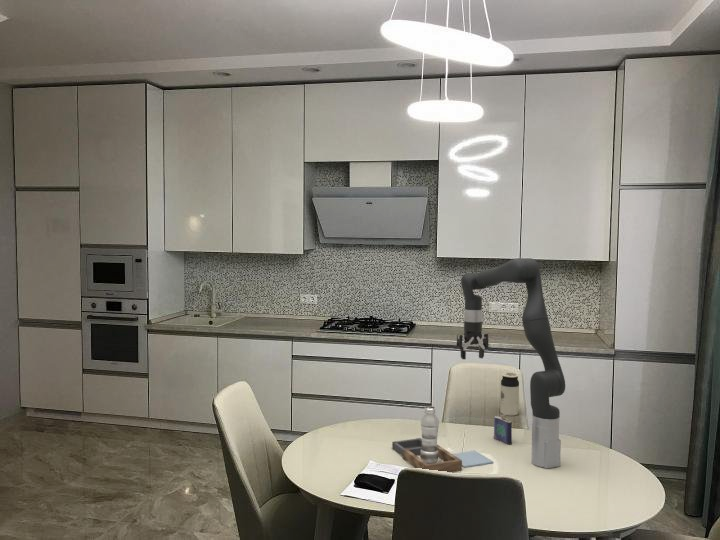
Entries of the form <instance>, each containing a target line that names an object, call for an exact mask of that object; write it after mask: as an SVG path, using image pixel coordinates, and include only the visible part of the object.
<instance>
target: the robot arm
mask: <svg viewBox="0 0 720 540" xmlns="http://www.w3.org/2000/svg"><path fill="white" fill-rule="evenodd" d="M504 282H505V283H516V284H525V286H526V292H527V300H526V303H525V306H524V309H523V313H522V316H521V317H522V318H521V322H522V326H523V332H524V334H525V335H524V336H525V338H526V340H527V341H528V343H529V344H530V345H531V346H532V348H533V349H534V350H535V352H536V353H537V354H538V355H539V357H540V359H541V362H542V364H543V368H544V370H540V371H535V372H533V373H532V375H531V378H530V381H529V386H530V387H529V393H530V406H531V410H532V413H531V414H532V418H531V419H532V420H531V422H532V424H531V425H532V426H531V463H532V464H533V465H534V466H537V467H540V468H544V469H553V468H558V467H560V466H561V455H562V453H561V450H562V449H561V448H562V447H561V446H562V441H561V439H560V415H561V414H560V409H559V408H558V407H557V406H555V405H551V403H550V398H553V397H559V396H562V395H564V393H565V391H566V380H565V376H564V373H563V369H562V366H561V364H560V361H559V357H558V355H557V351H556V347H555V343H554V342H555V341H554V339H553V336H552V335H553V334H552V330H551V329H552V328H551V324H550V320H549V316H548V312H547V307H546V303H545V298H544V291H543V283H542V275H541V269H540V267H539V263H538V261H537V260H536V259H534V258H532V257H531V258H530V257H529V258H528V257H524V258H523V257H522V258H521V257H520V258H513V259H511V260H508V261H506V262H505V263H503V264H501V265H498V266H497V267H492V268H487V269H483V270H481V271H479V272H466V273H464V274H463V275H462V276H461V279H460V286H461V290H462V293H463V297H464V313H463V316H464V317H463V332H464V333H463V334H457V335H456V349H458V350H460V358H461V360H466V358H467V357H466V356H467V351H466V350H467V349H468V347H469V346H470V345H471V346H473V345H477V346H478V348H479V349H478V358H479V359H484V357H485V349H486V348H487V349H488V348H489V345H490V344H489V334H488V333H485V332H484V333H482V331H483V312H482V311H483V310H482V309H483V299H482V296H480V295H477V294H475V293H474V291H475V290H484V289H487V288H490V287H494V286H499V285H500V284H501V283H504Z"/></svg>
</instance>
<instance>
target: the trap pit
mask: <svg viewBox="0 0 720 540" xmlns="http://www.w3.org/2000/svg"><path fill="white" fill-rule="evenodd" d="M391 445H392V446H391V448H392V449H393V450H394V451H395V452H396V453H398V454H399V455H401V456H402V457H403V449H408V450H409V451H411V452H412V453H413V454H415V455H416V456H420V451H421V445H422V437H419V438H418V437H417V438H410V439H405V440H404V439H403V440H396V441H392V444H391Z"/></svg>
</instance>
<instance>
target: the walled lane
mask: <svg viewBox="0 0 720 540" xmlns="http://www.w3.org/2000/svg"><path fill="white" fill-rule="evenodd" d="M437 450H438V455H439V457H438V459H440V460H441V461H439V462H438V461H437V462H436V463H431V464H427V463H426V462H425V461H423V460H422V459H420V456H419V455H415V454H413V453H412V452H411V451H409V450H408V449H403V456H402V459H403V460H404V461H405V462H407V463H408V464H409V465H411V466H412V467H413V468H414V469H416V468H422V469H429V470H438V471H447V472H449V473H454V471H455V472H460V471H462V469H463V467H462V460H461V459H459V458H457V457H456V456H454V455H453V454H454V453H451V452H450V451H448V450H447V449H445V448H443V447H441V445H439V444H437Z"/></svg>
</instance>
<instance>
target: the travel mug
mask: <svg viewBox="0 0 720 540" xmlns="http://www.w3.org/2000/svg"><path fill="white" fill-rule="evenodd" d="M501 377H502V379H501V381H500V414H501V415H505V416H509V417H510V416H511V417H514V416H517V415H518V414H519V410H520V409H519V402H520V401H519V399H520V394H519V393H520V381H519V380H518V378H519V374H518V373H515V372H502V373H501Z"/></svg>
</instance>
